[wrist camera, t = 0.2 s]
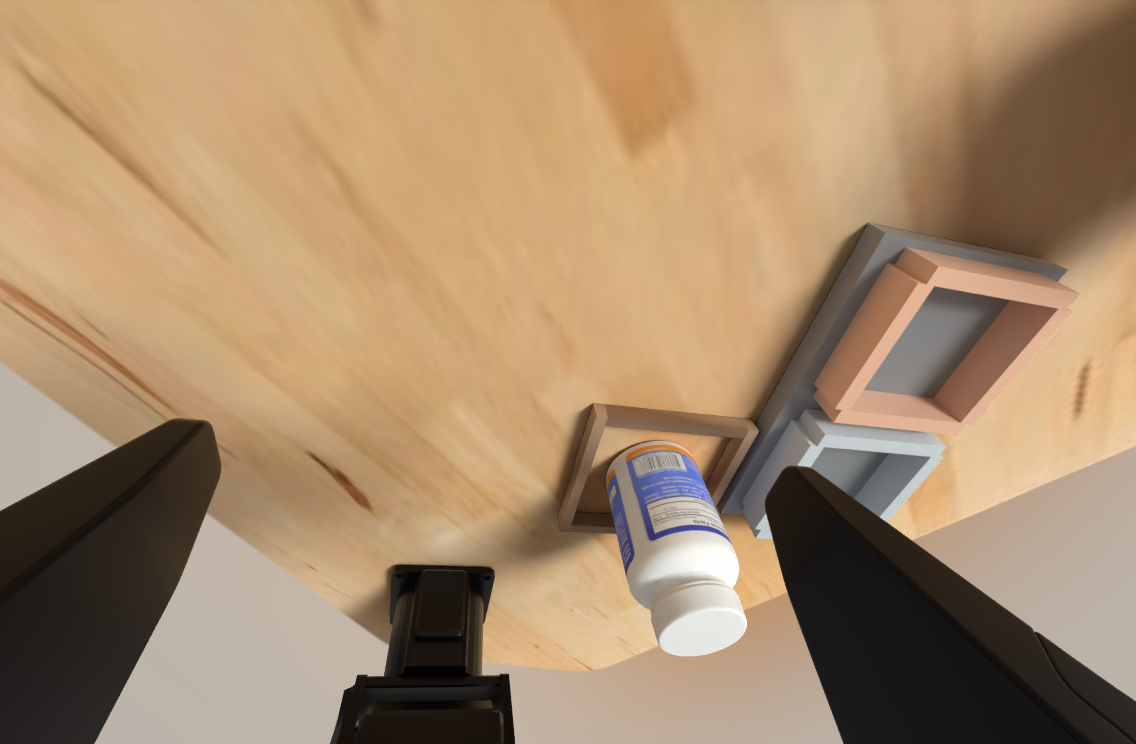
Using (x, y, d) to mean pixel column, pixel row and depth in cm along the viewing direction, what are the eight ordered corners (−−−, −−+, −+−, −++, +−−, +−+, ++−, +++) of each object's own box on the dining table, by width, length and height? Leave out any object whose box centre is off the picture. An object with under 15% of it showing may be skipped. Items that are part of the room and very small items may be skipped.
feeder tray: (693, 524, 33) (698, 537, 32) (557, 517, 31) (559, 531, 30) (751, 419, 28) (759, 431, 27) (593, 403, 26) (596, 416, 25)
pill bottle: (651, 511, 32) (700, 675, 24) (585, 482, 30) (616, 652, 22) (713, 459, 30) (789, 620, 22) (647, 422, 27) (706, 588, 20)
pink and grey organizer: (848, 506, 34) (877, 547, 31) (713, 498, 32) (732, 541, 29) (1044, 259, 24) (1110, 289, 21) (868, 223, 22) (917, 251, 19)
